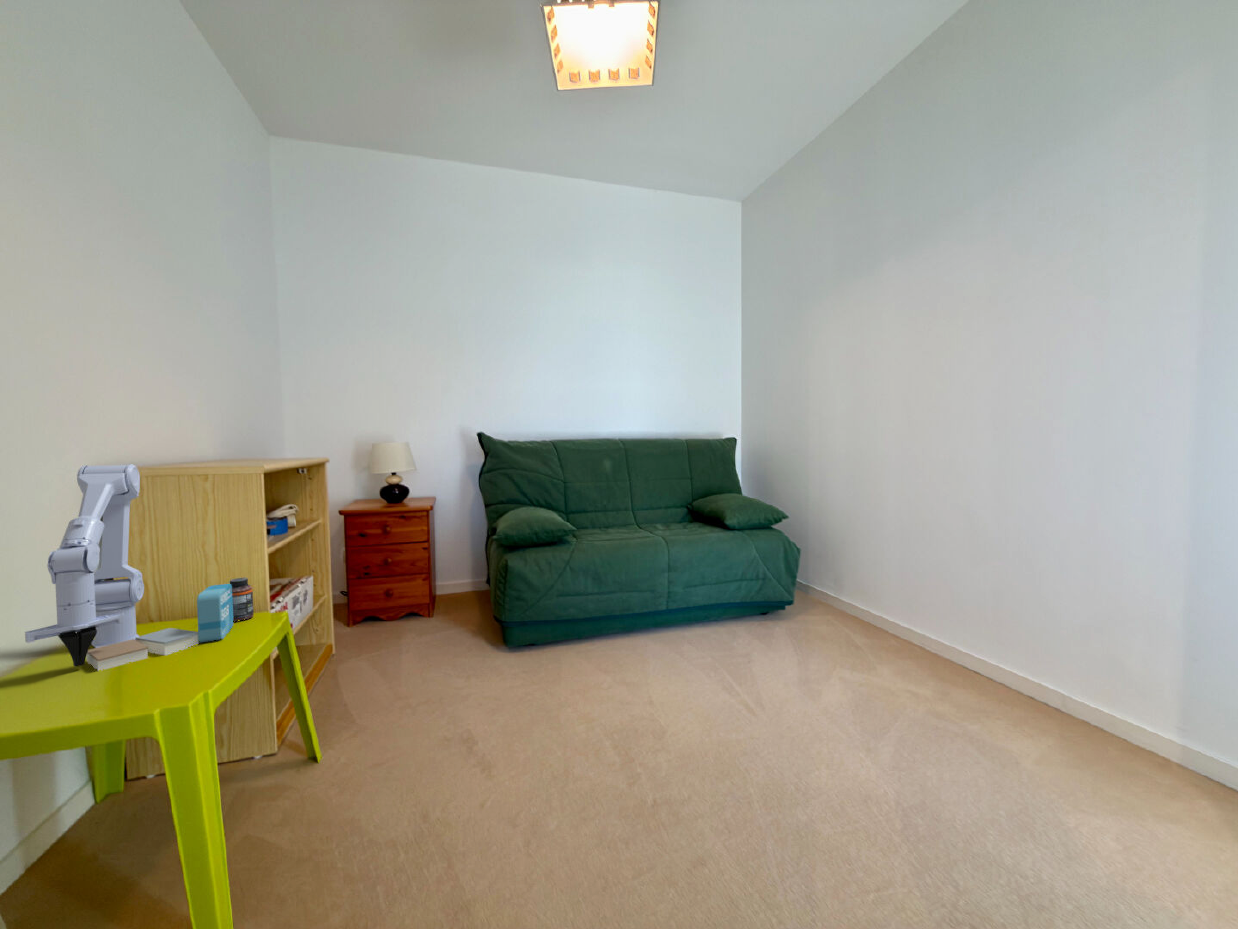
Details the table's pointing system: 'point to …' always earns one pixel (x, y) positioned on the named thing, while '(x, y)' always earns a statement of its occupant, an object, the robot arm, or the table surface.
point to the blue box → (215, 612)
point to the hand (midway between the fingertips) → (79, 664)
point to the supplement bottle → (242, 599)
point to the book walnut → (116, 654)
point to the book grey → (169, 640)
